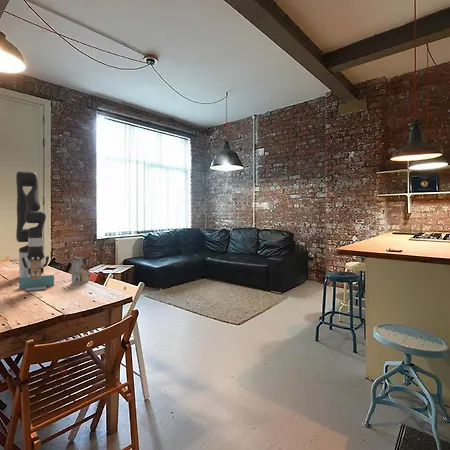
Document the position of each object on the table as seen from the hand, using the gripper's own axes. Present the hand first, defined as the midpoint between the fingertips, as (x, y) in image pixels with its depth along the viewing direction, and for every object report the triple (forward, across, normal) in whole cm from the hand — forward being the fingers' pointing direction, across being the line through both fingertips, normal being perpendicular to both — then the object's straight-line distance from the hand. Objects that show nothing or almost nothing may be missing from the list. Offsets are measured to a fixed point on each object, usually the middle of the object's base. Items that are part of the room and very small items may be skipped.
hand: (36, 273), depth 177 cm
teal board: (+9, 0, -7) cm, 12 cm away
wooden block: (+2, 0, 0) cm, 2 cm away
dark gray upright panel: (+9, 0, 0) cm, 9 cm away
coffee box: (+10, -24, -10) cm, 28 cm away
